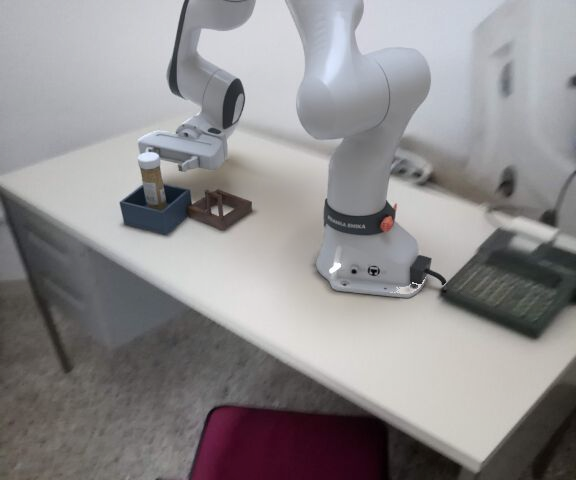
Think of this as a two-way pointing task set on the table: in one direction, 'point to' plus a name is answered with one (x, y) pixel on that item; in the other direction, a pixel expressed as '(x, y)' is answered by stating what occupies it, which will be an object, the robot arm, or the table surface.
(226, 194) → the rack
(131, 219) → the open box
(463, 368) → the table surface
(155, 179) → the sprinkles bottle
